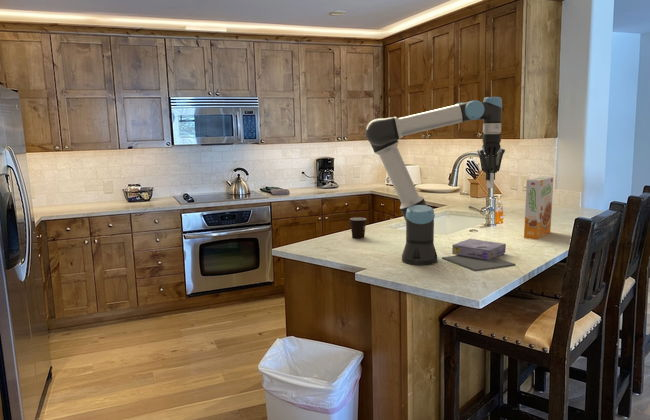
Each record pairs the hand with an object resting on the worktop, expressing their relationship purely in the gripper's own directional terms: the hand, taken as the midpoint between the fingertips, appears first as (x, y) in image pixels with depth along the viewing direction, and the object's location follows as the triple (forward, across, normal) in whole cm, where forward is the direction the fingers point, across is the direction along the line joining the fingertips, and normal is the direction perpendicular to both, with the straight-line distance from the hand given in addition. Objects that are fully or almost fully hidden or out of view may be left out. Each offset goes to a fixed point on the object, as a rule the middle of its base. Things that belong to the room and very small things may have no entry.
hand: (490, 187), depth 220 cm
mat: (+30, -12, -9) cm, 34 cm away
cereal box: (+31, +50, +25) cm, 64 cm away
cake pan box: (+28, +1, -6) cm, 28 cm away
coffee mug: (+30, -38, +57) cm, 75 cm away
